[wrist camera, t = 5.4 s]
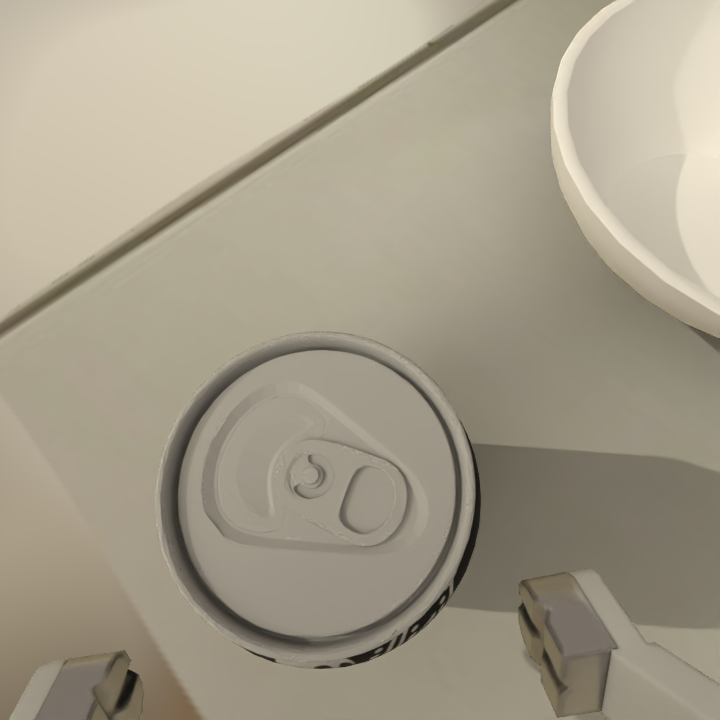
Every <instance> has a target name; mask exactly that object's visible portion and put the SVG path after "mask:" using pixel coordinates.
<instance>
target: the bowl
mask: <svg viewBox="0 0 720 720" xmlns="http://www.w3.org/2000/svg"><path fill="white" fill-rule="evenodd" d="M550 112H551V151H552V160H553V164H554V167H555V171H556V175H557V178H558V182H559V186H560V189H561V192H562V194H563V196H564V198H565V200H566V202H567V204H568V206H569V208H570V210H571V212H572V213H573V215H574V217H575V219H576V221H577V223H578V225H579V227H580V228H581V230H582V232H583V234H584V236H585V238H586V239H587V240H588V242H589V243H590V244H591V245H592V247H593V248H594V249H595V250H596V252H597V253H598V254H599V255H600V257H601V258H602V259H603V260H604V261H605V263H606V264H607V265H608V266H609V268H610V269H611V270H612V271H614V272H615V273H616V274H617V275H618V276H619V277H620V278H622V279H623V280H624V281H625V282H626V283H627V284H628V285H629V286H631V287H632V288H633V289H634V290H635V291H636V292H637V293H639V294H640V295H641V296H642V297H643V298H645V299H647V300H648V301H650V302H651V303H653V304H654V305H656V306H658V307H659V308H661V309H662V310H664V311H665V312H667V313H669V314H670V315H672V316H673V317H675V318H676V319H678V320H680V321H681V322H683V323H685V324H688V325H690V326H692V327H695V328H697V329H699V330H701V331H704V332H706V333H708V334H710V335H713V336H715V337H717V338H719V339H720V0H616V1H615V2H613V3H611V4H610V5H608V6H606V7H605V8H603V9H601V10H600V11H599V12H598V13H597V14H596V15H595V16H594V17H593V18H592V19H591V20H590V21H589V22H588V23H587V24H586V25H585V26H584V27H583V28H582V29H581V30H580V31H579V32H578V33H577V34H576V36H575V38H574V39H573V41H572V43H571V44H570V46H569V48H568V49H567V51H566V52H565V54H564V56H563V57H562V59H561V62H560V66H559V70H558V74H557V77H556V81H555V85H554V89H553V93H552V99H551V105H550Z"/></svg>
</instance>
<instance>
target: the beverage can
mask: <svg viewBox="0 0 720 720" xmlns="http://www.w3.org/2000/svg"><path fill="white" fill-rule="evenodd" d="M480 507H481V494H480V481H479V473H478V468H477V463H476V459H475V455H474V452H473V449H472V446H471V443H470V440H469V438H468V435H467V433H466V431H465V429H464V427H463V425H462V423H461V421H460V419H459V417H458V415H457V414H456V412H455V410H454V408H453V407H452V405H451V403H450V402H449V400H448V399H447V397H446V396H445V394H444V393H443V392H442V390H441V389H440V388H439V387H438V385H437V384H436V383H435V382H434V380H433V379H431V378H430V377H429V376H428V375H427V374H426V373H425V372H424V371H423V370H422V369H421V368H420V367H418V366H417V365H416V364H415V363H413V362H412V361H411V360H409V359H408V358H406V357H405V356H403V355H402V354H400V353H398V352H396V351H395V350H393V349H391V348H389V347H387V346H385V345H383V344H381V343H378V342H376V341H373V340H371V339H367V338H363V337H360V336H356V335H352V334H346V333H338V332H305V333H297V334H291V335H286V336H282V337H279V338H275V339H272V340H269V341H267V342H264V343H261V344H259V345H257V346H254V347H252V348H250V349H248V350H246V351H245V352H243V353H241V354H239V355H237V356H236V357H234V358H232V359H231V360H230V361H228V362H227V363H226V364H224V365H223V366H222V367H221V368H219V369H218V370H217V371H216V372H215V373H213V374H212V375H211V376H210V377H209V378H208V379H207V380H206V381H205V382H204V383H203V384H202V385H201V386H200V387H199V389H198V390H197V391H196V392H195V393H194V394H193V396H192V397H191V398H190V400H189V401H188V402H187V404H186V405H185V407H184V408H183V410H182V411H181V413H180V415H179V416H178V418H177V420H176V421H175V424H174V426H173V428H172V430H171V433H170V435H169V437H168V439H167V442H166V444H165V448H164V451H163V454H162V457H161V461H160V466H159V470H158V476H157V484H156V492H155V511H156V524H157V531H158V536H159V541H160V545H161V549H162V552H163V555H164V558H165V561H166V563H167V566H168V569H169V571H170V573H171V575H172V577H173V579H174V581H175V583H176V585H177V587H178V589H179V590H180V592H181V593H182V594H183V596H184V597H185V599H186V600H187V601H188V603H189V604H190V605H191V607H192V608H193V609H194V610H195V611H196V612H197V614H198V615H199V616H200V617H201V618H202V619H203V620H204V621H205V622H206V623H207V624H209V625H210V626H211V627H212V628H213V629H215V630H216V631H217V632H219V633H220V634H221V635H223V636H224V637H225V638H227V639H229V640H230V641H232V642H234V643H235V644H237V645H239V646H241V647H242V648H244V649H246V650H248V651H249V652H251V653H253V654H254V655H257V656H259V657H262V658H265V659H267V660H270V661H272V662H275V663H279V664H284V665H289V666H294V667H301V668H315V669H324V668H339V667H347V666H351V665H354V664H358V663H362V662H366V661H369V660H372V659H374V658H376V657H379V656H381V655H383V654H385V653H388V652H389V651H391V650H393V649H395V648H397V647H399V646H400V645H402V644H403V643H405V642H406V641H408V640H409V639H411V638H412V637H413V636H415V635H416V634H417V633H418V632H420V631H421V630H422V629H423V628H424V627H425V626H426V625H428V624H429V623H430V622H431V621H432V620H433V619H434V618H435V616H436V615H437V614H438V613H439V612H440V611H441V610H442V608H443V607H444V606H445V604H446V603H447V602H448V600H449V599H450V597H451V596H452V594H453V593H454V591H455V590H456V588H457V586H458V585H459V583H460V581H461V579H462V577H463V576H464V574H465V572H466V569H467V566H468V564H469V561H470V559H471V556H472V553H473V550H474V547H475V543H476V538H477V533H478V529H479V522H480Z"/></svg>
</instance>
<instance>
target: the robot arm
mask: <svg viewBox="0 0 720 720" xmlns="http://www.w3.org/2000/svg"><path fill="white" fill-rule="evenodd" d="M519 595H520V597H521V599H522V601H523V603H522V604H521V605H520V606H519V608H518V620H519V625H520V630H521V634H522V637H523V640H524V643H525V646H526V648H527V650H528V653H529V655H530V657H531V658H532V659H533V660H534V661H535V662H537V663H538V664H539V665H540V666H542V668H541V682H542V685H543V687H544V689H545V691H546V694H547V696H548V698H549V700H550V703H551V705H552V707H553V709H554V712H555V714H556V716H557V718H559V717H565V716H572V715H578V714H585V713H592V712H598V711H602V712H601V714H602V715H603V716H604V717H605V718H606V719H607V720H720V684H719V683H717V682H715V681H714V680H712V679H711V678H709V677H708V676H706V675H705V674H703V673H702V672H700V671H698V670H697V669H695V668H694V667H692V666H691V665H689V664H688V663H686V662H685V661H683V660H681V659H680V658H678V657H677V656H675V655H674V654H672V653H671V652H669V651H668V650H666V649H664V648H663V647H661V646H660V645H658V644H657V643H655V642H654V643H647V642H646V641H645V639H644V638H643V636H642V635H641V634H640V632H639V631H638V629H637V628H636V626H635V625H634V624H633V622H632V621H631V619H630V618H629V616H628V615H627V614H626V612H625V611H624V609H623V608H622V606H621V605H620V604H619V602H618V601H617V599H616V598H615V597H614V595H613V594H612V592H611V591H610V589H609V588H608V587H607V585H606V584H605V582H604V581H603V579H602V578H601V577H600V575H599V574H598V572H596V571H595V570H594V569H584V570H579V571H574V572H569V573H566V572H564V573H559V574H554V575H548V576H543V577H538V578H533V579H527V580H522V581H521V582H520V584H519ZM130 662H131V659H130V658H129V656H128V654H127V653H126V652H125V650H123V651H118V652H117V651H116V652H110V653H104V654H97V655H91V656H84V657H77V658H69V659H64V660H58V661H52V662H46V663H43V664H42V665H41V666H40V667H39V668H38V669H37V670H36V672H35V673H34V675H33V676H32V678H31V680H30V682H29V684H28V686H27V687H26V689H25V691H24V693H23V695H22V697H21V698H20V700H19V702H18V704H17V706H16V708H15V710H14V712H13V713H12V715H11V717H10V719H9V720H140V718H141V715H142V711H143V699H144V690H143V684H142V681H141V679H140V677H139V675H138V674H136V673H135V672H133V671H131V670H129V669H128V668H129V665H130Z"/></svg>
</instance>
